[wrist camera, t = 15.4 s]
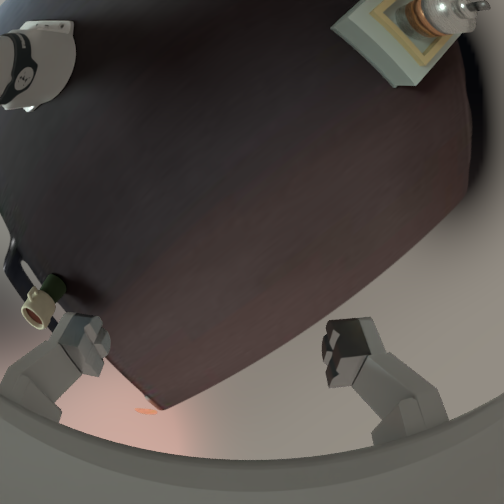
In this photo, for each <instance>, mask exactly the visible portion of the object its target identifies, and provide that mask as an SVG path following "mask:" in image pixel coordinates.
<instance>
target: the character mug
mask: <svg viewBox="0 0 504 504" xmlns="http://www.w3.org/2000/svg"><path fill="white" fill-rule="evenodd" d="M65 293H66V286H65V283H64V282H63V281H62V280H61V279H60V278H59V277H57V276H55V275H53V274H49V275H48V277H47V278H46V280H45V281H44V283H43V285H42V287H41V288H40V290H37V288H36V287H35V286H34V287H32V289H31V290H30V291H29V292H28V294H27V295H28V299H27V300H26V302H25V303H24V305H23V306H22V309H21V311H22V314H23V316H24V318H25V319H26V320H27V321H28V322H29V323H30V324H31V325H32V326H33V327H35V328H37V329H40V330H42V329H45V328H46V327H47V326H48V324H49V322H50V318H51V317H52V315H53V313H54V312H55V308H56V306H55V303H56V302H57V301H58V300H59V299H60V298H61V297H62V296H63V295H64V294H65Z"/></svg>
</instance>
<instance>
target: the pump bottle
mask: <svg viewBox="0 0 504 504" xmlns="http://www.w3.org/2000/svg"><path fill="white" fill-rule="evenodd" d="M488 9H490V5H489V3H488V2H487V1H485V0H484V1H479V2H473V3H472V2H471V1H470V0H413V1H411V2H409V3H407V4H405V5H403V6H401V7H399V8H398V9H397V10H396V13H395V17H396V21H397V24H398V26H399V27H400V29H401V30H402V31H403V32H404V33H405V34H406V35H408V36H409V37H411V38H413V39H417V40H421V39H426V38H433V37H439V36H446V35H451V34H457V33H465V32H472V31H474V30H475V27H476V17H477V11H480V10H488Z"/></svg>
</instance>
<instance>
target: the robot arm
mask: <svg viewBox="0 0 504 504" xmlns="http://www.w3.org/2000/svg"><path fill="white" fill-rule="evenodd" d="M63 26H64V27H63ZM73 30H74V23H73V21H56V20H52V21H28V22H26V23H25V24H24V25H23V26H22V27H21V28H20V29H19V30H11V31H10V32H9V33H7V34H3V35H1V36H0V106H3V107H4V108H5V109H6V110H10V109H17V108H24V109H25V111H26V112H32V111H33V110H35V109H36V108H37V107H38V106H39V105H40V104H42V103H45V102H48V101H50V100H52V99H53V98H54V97H56V96H57V95H58V94H59V93H60V92H61V91H62V89H63V88H64V87H65V85H66V84H67V82H68V80H69V78H70V76H71V74H72V71H73V68H74V64H75V59H76V46H75V42H74V39H73ZM102 324H103V322H102V321H101V319H100V317H98V316H93V315H86V314H79V313H72V312H67V313H65V314H64V315H63V317H62V318H61V320H60V322H59V323H58V325H57V327H56V328H55V330H54V332H53V333H52V335H51V337H50V339H49V340H48V341H44V342H43V343H41V344H40V345H39V346H37V347H36V348H34V349H33V350H32V351H30V352H29V353H27V354H26V355H25V356H23V357H22V358H21V359H19V360H18V361H17V362H15V363H14V364H13V365H11V366H10V367H9V368H8V369H7V371H6V373H5V375H4V377H3V379H2V381H1V384H0V504H504V393H503V394H501V395H500V396H498V397H496V398H494V399H492V400H491V401H489V402H487V403H485V404H483V405H481V406H479V407H478V408H475V409H473V410H472V411H469V412H467V413H465V414H463V415H461V416H459V417H457V418H454V419H452V420H450V421H449V419H448V416H447V413H446V410H445V408H444V405H443V402H442V400H441V397H440V395H439V392H438V390H437V388H435V387H434V386H433V385H431V384H430V383H429V382H428V381H426V380H425V379H424V378H422V377H421V376H420V375H419V374H417V373H416V372H415V371H414V370H412V369H411V368H410V367H408V366H407V365H406V364H404V363H403V362H402V361H400V360H399V359H398V358H397V357H396V356H394V355H393V354H392V353H390V352H389V353H386V350H385V348H384V345H383V343H382V341H381V338H380V336H379V333H378V331H377V329H376V326H375V324H374V321H373V319H372V318H371V317H363V318H352V319H339V320H329V321H328V323H327V325H326V331H327V334H326V335H325V336H324V337H323V341H322V357H323V362H324V363H325V364H326V365H327V366H328V367H327V370H326V377H327V381H328V386H329V388H336V387H345V386H352V388H353V389H354V390H355V391H356V392H357V393H358V394H359V395H360V396H361V398H362V399H363V400H364V401H365V402H366V403H367V404H368V405H369V406H370V407H371V408H372V409H373V411H374V412H375V413H376V414H377V415H378V416H379V417H380V418H381V419H382V421H381V422H380V424H379V425H378V426H377V427H376V428H375V429H374V430H373V431H372V433H371V434H372V439H373V444H374V446H371V447H366V448H361V449H356V450H351V451H347V452H341V453H335V454H328V455H321V456H313V457H304V458H293V459H277V460H225V459H210V458H209V459H208V458H198V457H188V456H181V455H174V454H168V453H161V452H156V451H151V450H146V449H141V448H136V447H132V446H128V445H124V444H120V443H116V442H112V441H109V440H106V439H102V438H99V437H96V436H93V435H90V434H86V433H84V432H81V431H78V430H75V429H72V428H70V427H67V426H65V425H62V424H60V423H59V420H60V417H61V414H62V411H61V409H60V408H59V407H58V406H57V405H55V402H56V400H57V399H58V398H59V397H60V396H61V395H62V394H63V393H64V392H65V391H66V390H67V389H68V388H69V387H70V386H71V385H72V384H73V383H74V382H75V381H76V380H77V379H78V378H79V377H80V376H81V375H82V374H87V375H91V376H96V377H99V375H100V373H101V370H102V367H103V365H104V361H103V358H104V357H105V356H106V355H108V352H109V350H110V342H111V341H110V336H109V334H108V332H107V331H106V330H105V329H104V328H103V327H102Z"/></svg>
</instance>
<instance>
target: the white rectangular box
mask: <svg viewBox="0 0 504 504" xmlns="http://www.w3.org/2000/svg"><path fill="white" fill-rule="evenodd" d="M411 1H413V0H360V1H359V2H358V3H357V4H356V5H354V6H353V7H352V8H351V9H350V10H349V11H348V12H347V13H346V14H344V15H343V16H342V17H341V18H340V19H339V20H338V21H337V22H336V23H335V24H334V25H333V26H332V27H331V28H330V29H331V30H333V31H334V32H335V33H336V34H338V35H339V36H340V37H341V38H342V39H344V40H345V41H346V42H347V43H348V44H349V45H351V46H352V47H353V48H354V49H355V50H356V51H357V52H358V53H360V54H361V55H362V56H363V57H364V58H365V59H366V60H367V61H368V62H369V63H370V64H371V65H372V66H373V67H374V68H375V69H376V70H377V71H378V72H379V73H380V74H381V75H382V76H383V77H384V78H385V79H386V80H387V81H388V82H389V84H390V85H391V86H392V87H393V88H396V87H397V86H398V85H402V86H416V85H417V84H418V83H419V82H420V81H421V80H422V79H423V77H424V76H425V75H426V74H427V73H428V72H429V71H430V69H431V68H432V67H433V66H434V65H435V64H436V62H437V61H438V60H439V59H440V58H441V57H442V56H443V54H444V53H445V52H446V51H447V50H448V49H449V47H450V46H451V45H452V44H453V43H454V42H455V40H456V39H457V38H458V37H459V36H460V35H461V33H457V34H451V35H446V36H439V37H433V38H426V39H421V40H417V39H413V38H411V37H409V36H408V35H406V34H405V33H404V32H403V31H402V30H401V29H400V27H399V26H398V24H397V21H396V17H395V13H396V10H397V9H398V8H399V7H401V6H403V5H405V4H407V3H409V2H411Z"/></svg>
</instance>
